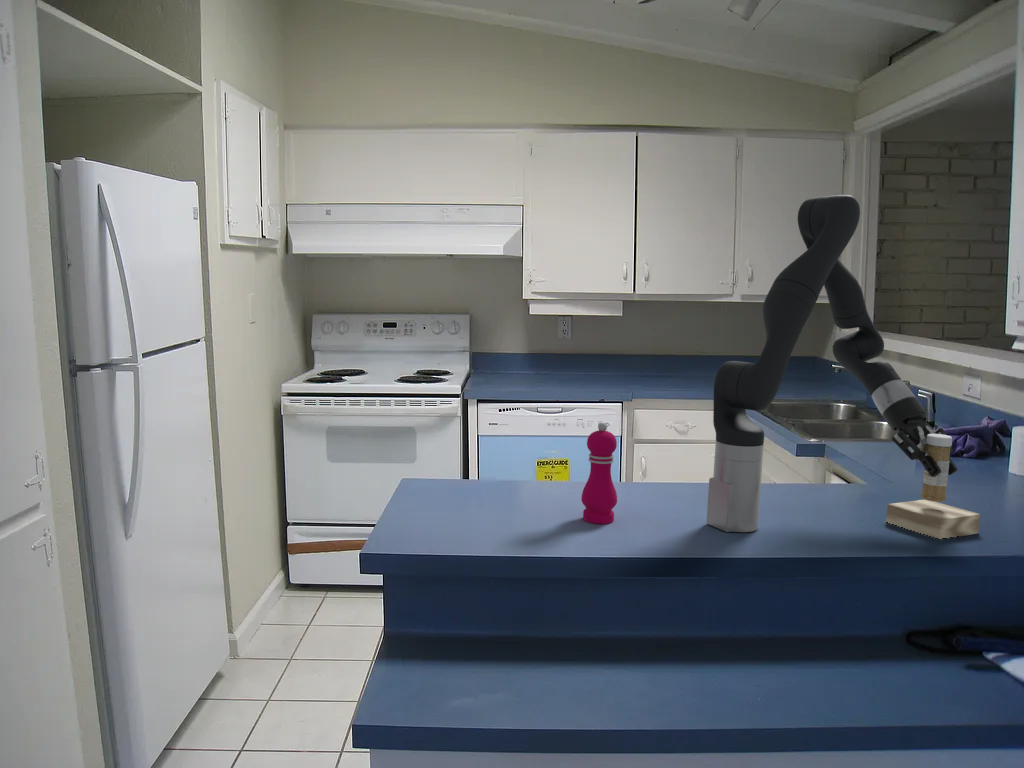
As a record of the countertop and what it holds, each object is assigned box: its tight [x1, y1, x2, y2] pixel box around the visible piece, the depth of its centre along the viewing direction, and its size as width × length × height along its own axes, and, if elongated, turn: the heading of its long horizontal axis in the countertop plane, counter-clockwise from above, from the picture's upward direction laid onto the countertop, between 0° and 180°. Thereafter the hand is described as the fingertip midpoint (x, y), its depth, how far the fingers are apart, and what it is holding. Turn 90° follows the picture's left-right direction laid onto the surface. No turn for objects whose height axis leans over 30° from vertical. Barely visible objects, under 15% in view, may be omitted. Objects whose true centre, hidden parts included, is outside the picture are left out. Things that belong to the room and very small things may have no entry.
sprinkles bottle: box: [920, 434, 953, 503], centre depth 157 cm, size 5×5×14 cm
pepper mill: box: [580, 422, 618, 525], centre depth 155 cm, size 7×7×20 cm
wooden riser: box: [885, 499, 981, 540], centre depth 158 cm, size 12×12×4 cm
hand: (945, 473), depth 155 cm, fingers closed on sprinkles bottle, 4 cm apart
